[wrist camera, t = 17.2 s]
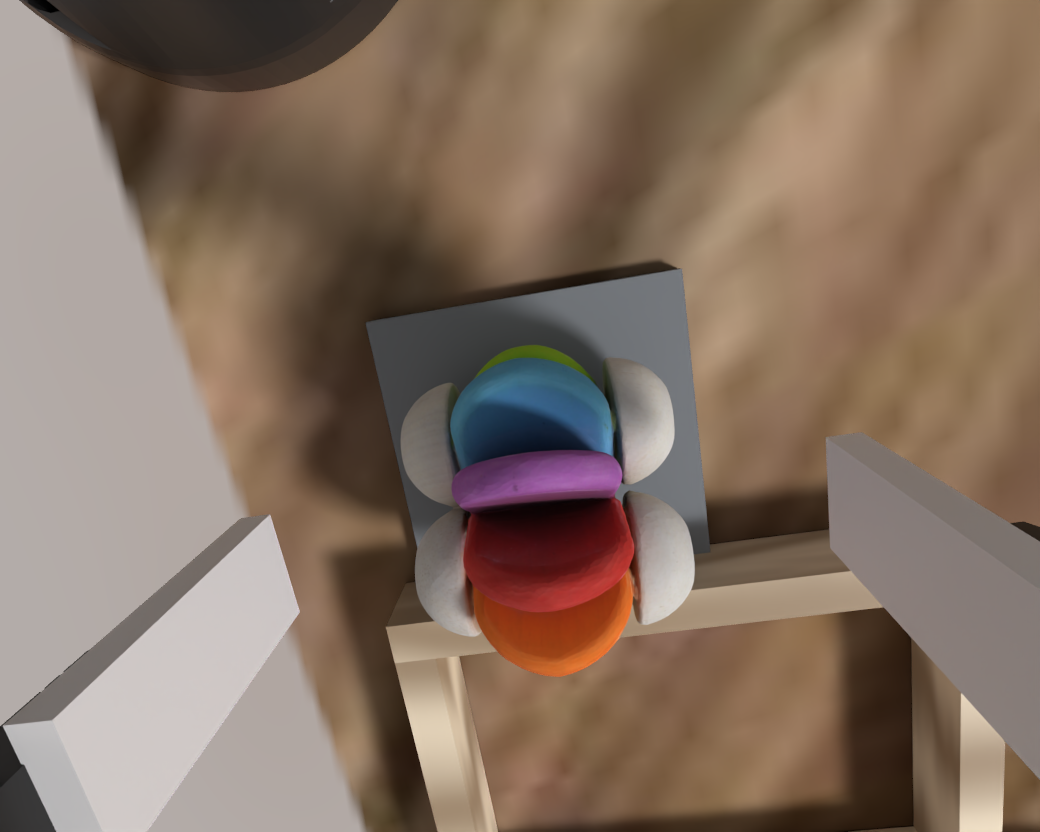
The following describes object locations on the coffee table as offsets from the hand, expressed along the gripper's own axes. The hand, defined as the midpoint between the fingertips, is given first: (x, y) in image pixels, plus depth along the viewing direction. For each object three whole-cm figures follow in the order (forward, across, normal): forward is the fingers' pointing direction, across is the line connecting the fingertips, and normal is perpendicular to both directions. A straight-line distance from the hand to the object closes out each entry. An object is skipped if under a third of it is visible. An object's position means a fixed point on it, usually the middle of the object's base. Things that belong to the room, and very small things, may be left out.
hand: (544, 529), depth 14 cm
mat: (+8, 0, -1) cm, 9 cm away
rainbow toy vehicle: (+7, 0, -2) cm, 7 cm away
